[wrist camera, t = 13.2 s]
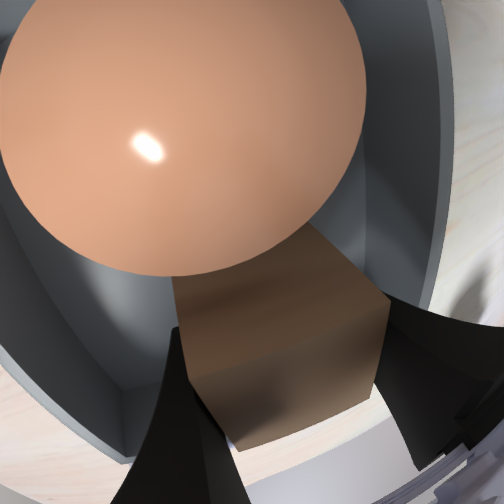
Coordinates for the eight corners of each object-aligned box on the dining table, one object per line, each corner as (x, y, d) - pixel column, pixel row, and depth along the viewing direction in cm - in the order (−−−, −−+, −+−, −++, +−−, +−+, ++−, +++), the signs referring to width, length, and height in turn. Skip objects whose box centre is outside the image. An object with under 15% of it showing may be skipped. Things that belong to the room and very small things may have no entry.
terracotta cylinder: (256, 134, 10) (385, 198, 5) (129, 188, 10) (103, 322, 4) (215, 11, 8) (309, -87, 2) (76, 66, 7) (-38, 35, 1)
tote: (365, 307, 18) (411, 360, 14) (116, 392, 16) (121, 464, 12) (340, -39, 8) (419, -70, 4) (-44, 64, 5) (-119, 69, 1)
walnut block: (312, 315, 14) (369, 398, 9) (208, 352, 13) (238, 452, 9) (304, 218, 11) (390, 301, 7) (169, 261, 10) (188, 379, 6)
